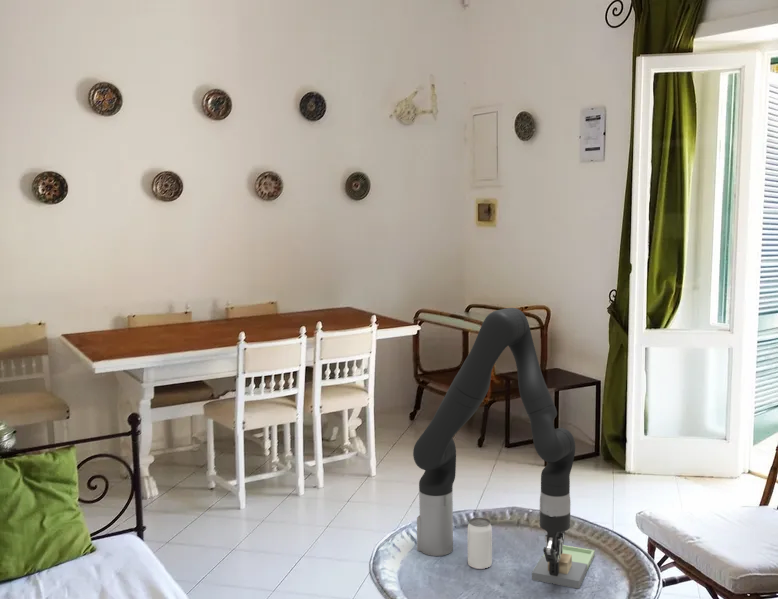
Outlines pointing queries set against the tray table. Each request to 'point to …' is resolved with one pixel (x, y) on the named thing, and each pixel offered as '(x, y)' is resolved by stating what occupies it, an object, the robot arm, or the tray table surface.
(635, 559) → the tray table surface
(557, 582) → the plate
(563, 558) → the tan square block
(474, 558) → the can
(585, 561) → the box
